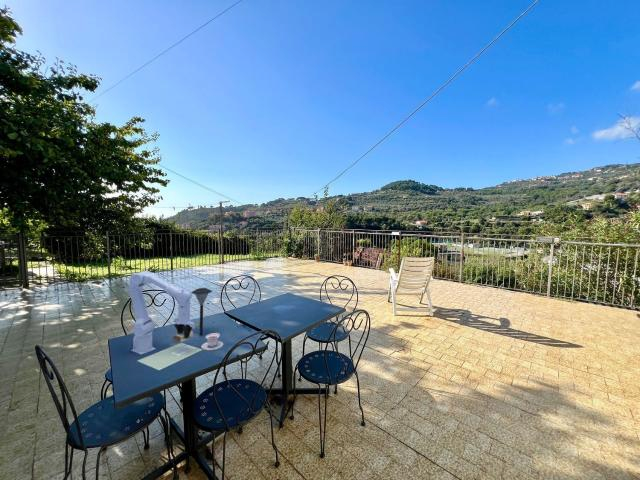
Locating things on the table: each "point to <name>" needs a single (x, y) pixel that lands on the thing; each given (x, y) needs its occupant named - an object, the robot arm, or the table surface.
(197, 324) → the smartphone
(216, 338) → the teacup
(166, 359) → the mat
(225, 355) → the table surface
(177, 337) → the brown-topped white block
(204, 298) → the solar garden light
